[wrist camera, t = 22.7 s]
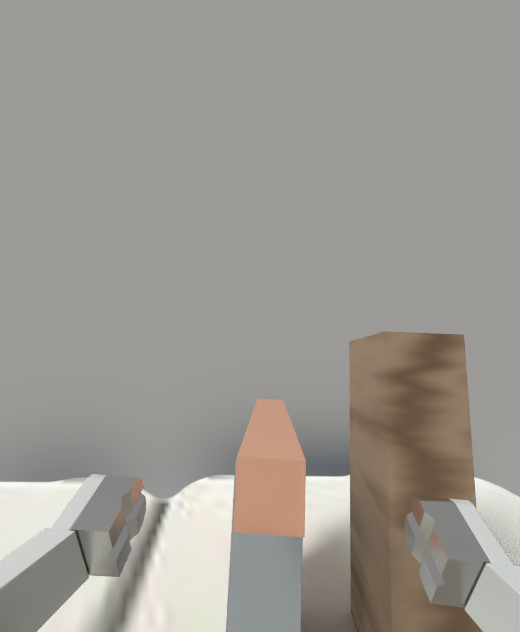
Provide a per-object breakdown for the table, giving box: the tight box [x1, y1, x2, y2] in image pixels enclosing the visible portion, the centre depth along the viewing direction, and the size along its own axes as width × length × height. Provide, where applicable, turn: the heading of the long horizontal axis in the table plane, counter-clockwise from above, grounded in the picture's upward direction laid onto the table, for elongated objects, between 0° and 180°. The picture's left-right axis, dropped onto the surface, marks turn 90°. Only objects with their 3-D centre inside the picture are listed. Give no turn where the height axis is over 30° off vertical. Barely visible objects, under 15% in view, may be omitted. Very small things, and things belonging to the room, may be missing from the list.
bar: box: [233, 399, 306, 537], centre depth 23 cm, size 3×22×3 cm, turn 178°
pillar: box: [349, 332, 483, 632], centre depth 25 cm, size 6×10×26 cm, turn 178°
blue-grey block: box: [226, 433, 303, 632], centre depth 25 cm, size 5×10×16 cm, turn 178°
